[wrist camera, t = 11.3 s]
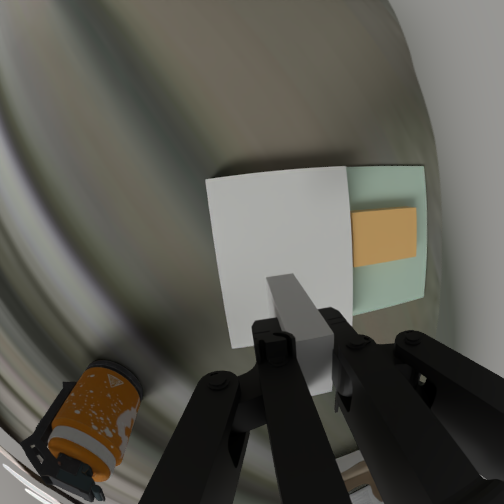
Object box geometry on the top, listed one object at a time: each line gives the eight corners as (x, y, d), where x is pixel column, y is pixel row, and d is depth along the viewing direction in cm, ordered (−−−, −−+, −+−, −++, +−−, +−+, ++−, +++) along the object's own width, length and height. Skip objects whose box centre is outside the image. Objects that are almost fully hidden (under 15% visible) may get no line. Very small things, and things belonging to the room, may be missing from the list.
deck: (207, 180, 28) (205, 179, 25) (335, 167, 29) (345, 165, 26) (231, 335, 32) (232, 348, 29) (342, 316, 33) (352, 326, 30)
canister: (143, 411, 34) (113, 520, 15) (78, 389, 33) (26, 480, 13) (145, 368, 32) (101, 492, 13) (73, 344, 31) (0, 439, 11)
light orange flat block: (346, 262, 31) (353, 267, 29) (344, 211, 30) (352, 212, 28) (407, 252, 32) (416, 256, 30) (407, 206, 30) (416, 207, 28)
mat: (343, 167, 29) (344, 167, 29) (422, 166, 30) (423, 166, 29) (349, 314, 33) (351, 315, 33) (422, 296, 34) (423, 297, 33)
